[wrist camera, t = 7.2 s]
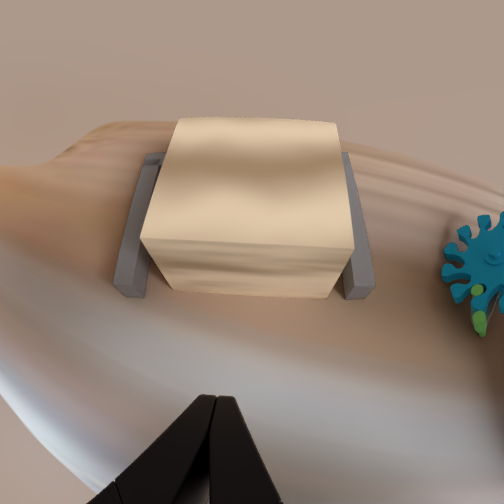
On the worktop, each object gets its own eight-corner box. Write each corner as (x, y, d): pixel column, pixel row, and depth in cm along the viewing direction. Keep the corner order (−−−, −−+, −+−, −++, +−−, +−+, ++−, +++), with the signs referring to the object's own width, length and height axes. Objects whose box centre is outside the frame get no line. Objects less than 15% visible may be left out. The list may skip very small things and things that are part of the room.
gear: (460, 203, 23) (554, 211, 15) (472, 246, 26) (554, 259, 17) (413, 301, 21) (530, 334, 12) (430, 337, 23) (524, 369, 15)
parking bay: (364, 298, 21) (375, 285, 19) (126, 296, 22) (112, 284, 19) (341, 171, 27) (347, 152, 25) (153, 172, 27) (146, 154, 25)
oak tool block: (325, 299, 21) (354, 248, 15) (173, 290, 22) (139, 237, 15) (320, 190, 26) (335, 123, 20) (195, 184, 27) (179, 118, 20)
